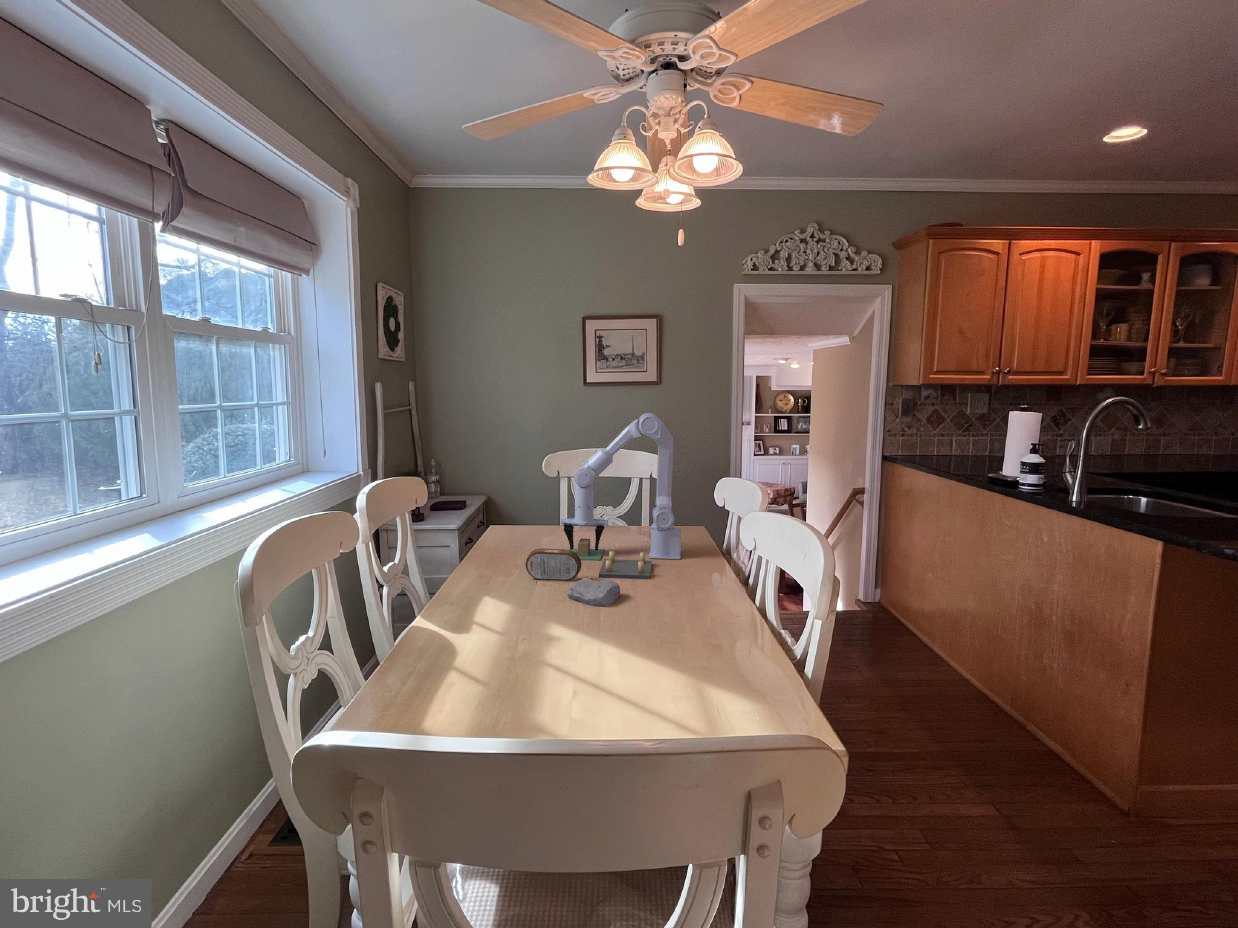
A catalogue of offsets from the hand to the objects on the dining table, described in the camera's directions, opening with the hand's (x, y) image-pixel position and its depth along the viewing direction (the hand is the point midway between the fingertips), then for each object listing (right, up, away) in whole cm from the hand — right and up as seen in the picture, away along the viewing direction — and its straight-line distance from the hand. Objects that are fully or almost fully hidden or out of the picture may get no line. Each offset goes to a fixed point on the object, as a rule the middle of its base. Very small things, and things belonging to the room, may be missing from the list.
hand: (584, 549), depth 189 cm
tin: (-7, -5, -23) cm, 25 cm away
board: (0, -2, 0) cm, 2 cm away
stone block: (+4, -8, -37) cm, 38 cm away
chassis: (+13, -4, -15) cm, 20 cm away
